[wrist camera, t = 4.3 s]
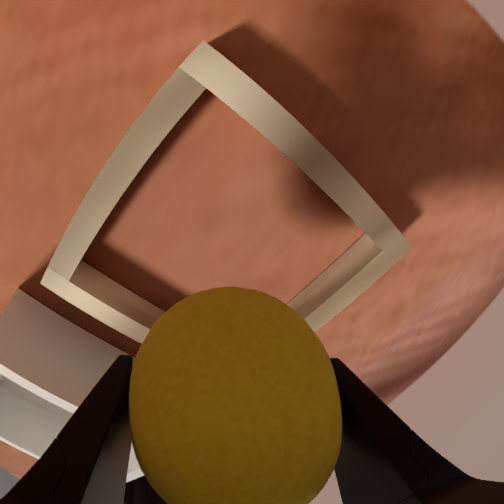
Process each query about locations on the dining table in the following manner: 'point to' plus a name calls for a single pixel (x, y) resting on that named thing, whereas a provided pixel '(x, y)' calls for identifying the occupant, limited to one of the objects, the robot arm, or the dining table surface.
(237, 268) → the dining table surface
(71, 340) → the bin
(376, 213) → the rectangular frame
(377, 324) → the dining table surface
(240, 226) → the dining table surface
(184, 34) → the dining table surface
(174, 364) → the lemon
